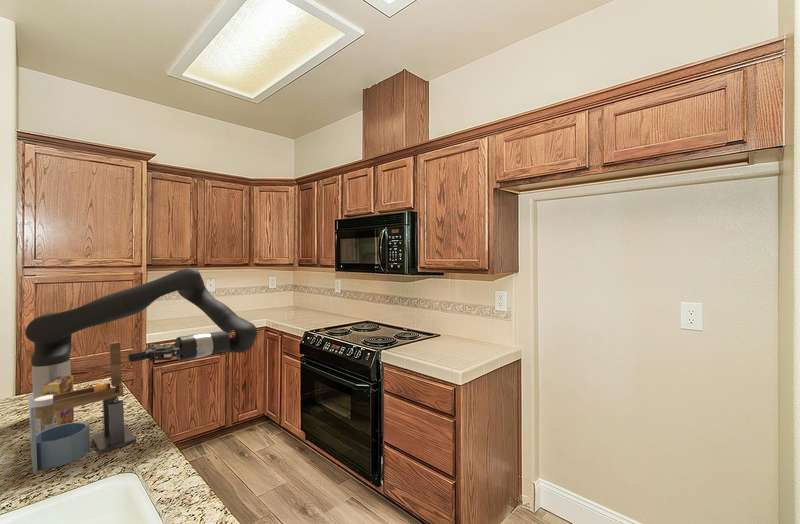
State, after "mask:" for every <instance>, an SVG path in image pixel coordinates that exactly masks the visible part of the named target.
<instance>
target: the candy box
mask: <svg viewBox="0 0 800 524" xmlns="http://www.w3.org/2000/svg"><path fill="white" fill-rule="evenodd" d="M42 387H43V396H46V395H57V394H62V393H66V392H71V391H74V375H73V374H71V375H66V376H59V377H56V378H55V379H53V380H52V381H50V382H48V383H46V384H45V385H43V386H42ZM74 408H75V407H73V408H69V409H64V410H60V411H56V413H57V426H58V425H62V424H66V423H73V422H75V420H74V418H75V416H74V410H75V409H74Z"/></svg>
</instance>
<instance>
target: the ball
mask: <svg viewBox="0 0 800 524" xmlns="http://www.w3.org/2000/svg"><path fill="white" fill-rule="evenodd" d="M107 384H108V383H106V382H99V383H96V384H95V385H94V386H95V387H94V386H93V387H94V392H96V391H101V390H105V389H108V386H107Z"/></svg>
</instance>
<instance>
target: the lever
mask: <svg viewBox="0 0 800 524" xmlns="http://www.w3.org/2000/svg"><path fill="white" fill-rule="evenodd" d="M121 357H122V355H121V341H113V342H109V358H110V359H109V362H110V366H109V367H110V382H108V383H106V384H107V386H108V389H105V390H101V391H96V392H94V387H95V386H96V385H94V386H91V387H86V388H81V389H75V390H73V391H71V392H66V393H62V394H57V395H53V406H54V409H55V412H56V411H60V410H64V409H69V408H73V407H74V408H76V407H80V406H81V407H82V406H85V405H88V404H89V405H90V404H94V403H98V402H101V401H102V402H103V400H106V399H110V400H111V401H112V400H113V398H118V399H119V397H122V396H124V395H125V394H124V384H123V382H122V380H123V379H122V358H121ZM112 402H113V401H112Z"/></svg>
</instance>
